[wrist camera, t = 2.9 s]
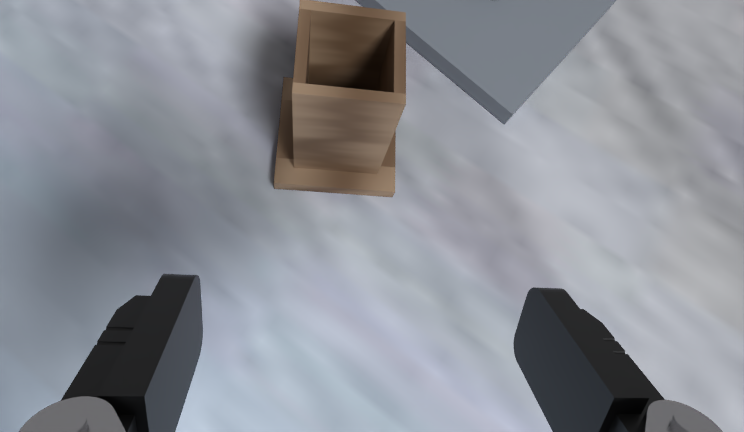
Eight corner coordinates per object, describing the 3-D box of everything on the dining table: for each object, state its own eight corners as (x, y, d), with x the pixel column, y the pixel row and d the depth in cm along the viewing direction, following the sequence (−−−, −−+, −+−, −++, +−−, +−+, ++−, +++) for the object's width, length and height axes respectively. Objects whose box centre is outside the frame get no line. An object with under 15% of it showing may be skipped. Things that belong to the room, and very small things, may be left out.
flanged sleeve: (274, 188, 32) (264, 112, 23) (284, 85, 34) (278, -23, 25) (392, 197, 33) (429, 128, 24) (393, 96, 35) (427, -3, 26)
